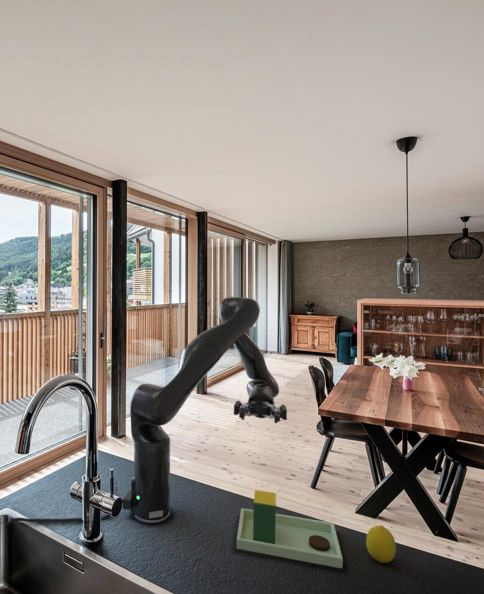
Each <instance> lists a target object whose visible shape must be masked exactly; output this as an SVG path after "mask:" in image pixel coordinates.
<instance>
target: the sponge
mask: <svg viewBox="0 0 484 594" xmlns="http://www.w3.org/2000/svg"><path fill="white" fill-rule="evenodd" d="M276 495H277V493H276V492H271V491H265V490H258V489H255V490H254V496H253V510H254V514H253V540H254V541H260V542H265V543H271V544H275V522H276V514H277V513H276V512H277V498H276V497H277V496H276Z"/></svg>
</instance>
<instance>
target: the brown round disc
mask: <svg viewBox="0 0 484 594" xmlns="http://www.w3.org/2000/svg"><path fill="white" fill-rule="evenodd" d="M309 545H310V546H311V547H312V548H313V549H315V550H317V551H322V552H324V551H328V550H329V549H330V542H329V541H328V540H327V539H326V538H324V537H322V536H318V535H313V536H310V537H309Z"/></svg>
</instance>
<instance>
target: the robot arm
mask: <svg viewBox="0 0 484 594" xmlns="http://www.w3.org/2000/svg"><path fill="white" fill-rule="evenodd" d="M218 309H219V318H220V320H221V322H222V323H220V324H218V325H216V326H213V327H211V328H209V329H207V330H204V331H203V332H200V333H199V334H198V335H197V336H195V337H194V338H193V339H192V340H191V341H190V342H189V343H188V344H187V346H186V347H184V349H183V351H182V353H181V356H180V361H179V368H178V371H177V373H176V374H175V376H174V377H173V378H172V379H171V380H170V381H169V382H168V383H167V384H165V385H164V386H160V385H156V384H152V383H148V382H145V383H144V382H143V383H141V384H139V385H138V386H136V388H135V389H134V391H132V395H131V399H130V408H129V409H130V411H129V413H130V434H131V438H132V440H133V452H134V453H133V477H132V478H131V480H130V482H131V483H130V485H131V486H130V490H128V491H127V492H126V494H124V497H123V498H122V499H121V500H122V510H127V511H130V517H131V518H135V520H136V521H139V522H140V523H143V524H148V525H149V524H150V525H156V524H160V523H163V522H166V521H167V520H168V519H169V517H170V516H171V510H170V508H171V506H170V501H171V500H170V499H171V498H170V496H171V495H170V493H171V492H170V491H171V438H170V436H169V435H168V433H167V432H166V431H165V430H164V429H163V427H162V426H164V425H167V424H169V423H170V422H171V421H172V420H173V419H174V418H175V417H176V416H177V414H178V413H179V411H180V410H181V409H182V408H183V406H184V404H185V403H186V401H187V400H188V398H189V397H190V395H191V394H192V393H193V391H194V390H195V389H196V387H197V386H198V385H199V384H200V383H201V382H202V380H203V379H204V378H205V377H206V375H207V374H208V373H209V372H210V371H211V370H212V369H213V368H214V367H215V365H216V364H218V362H219V361H220V360H221V359H222V358H223V356H225V354H226V353H227V351H228V350H230V348H231V347H232V346H233V345H234V346H235V348H236V349H237V352H238V354H239V356H240V358H241V361H242V364H243V365H242V366H243V367H244V371H245V373H246V375H247V377H248V379H250V381H248V382H247V384H246V393H247V396H248V399H247V402H245V403H242V402H241V400H236V401H235V403H234V405H233V415H234V416H238V418H239V419H241V421H245V418H246V417H252V416H254V417H255V418H258V419H266V418H268V419H271V420H272V419H273V420H274V424H278V423H280V422H281V419H282V420H283V421H286V420H287V419H288V416H287V415H288V414H287V413H288V409H287V407H286V405H285V404H281V405H279V406H276V405H275V398H276V397H277V396H278V395H279V392H280V387H279V384H278V382H277V380H276V378H275V377H274V376H273V375H272V373H271V372H270V371H269V369H268V366H267V362H266V360H265V356H264V354H263V352H262V350H261V349H260V347H259V346H258V344H256V342H255V341H254V340H253V339H252V337H251V336H250V335H248V333H247V332H249V330H250V329H251V328H252V327H254V325H255V324H257V323H256V322H257V321H258V319H259V316H260V314H261V313H260V312H261V307H260V304H259V302H258V301H257V300H256V299H254V298H251V297H245V296H243V297H242V296H227V297H225V298H223V299H222V300H221V302H220V304H219V308H218ZM108 514H109V513H107V514H106V515H104V516H102V517H100V518H101V520H100V521H103V520H106V519H108V518H110V517H111V516H110V515H108ZM82 518H83V517H81V518H80V517H72V518H27V517H14V518H12V519H10V520H8V521H7V522H6V523H5V527H7V526H10V525H11V524H12V523H14V522H24V523H71V522H78V523H79V522H82V523H84V522H83V520H82Z"/></svg>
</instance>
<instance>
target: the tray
mask: <svg viewBox="0 0 484 594" xmlns="http://www.w3.org/2000/svg"><path fill="white" fill-rule="evenodd" d="M253 514H254V509H251V508H243V507H241V508H240V515H239V522H238V528H237V533H236V534H237V535H236V549H237V550H243V551H249V552H252V553H253V552H254V553H259V554H263V555H269V556H275V557H278V558H279V557H280V558H285V559H291V560H294V561H299V562H305V563H312V564H316V565H321V566H326V567H327V566H328V567H331V568H332V567H333V568H337V569H343V568H344V567H343V565H344V564H343V563H344V558H343V554H342V551H341V547H340V543H339V539H338V535H337V531H336V528H335V527H336V526H335V523H334V522H330V521H325V520H317V519H313V518H312V519H311V518H305V517H299V516H293V515H287V514H280V513H276V522H275V544H271V543H265V542H260V541H254V540H253ZM313 535H318V536H322V537H324V538H326V539H327V540H328V541H329V542H330V549H329V550H328V551H324V552H322V551H317V550H315V549H313V548H312V547H311V546H310V545H309V537H310V536H313Z"/></svg>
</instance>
